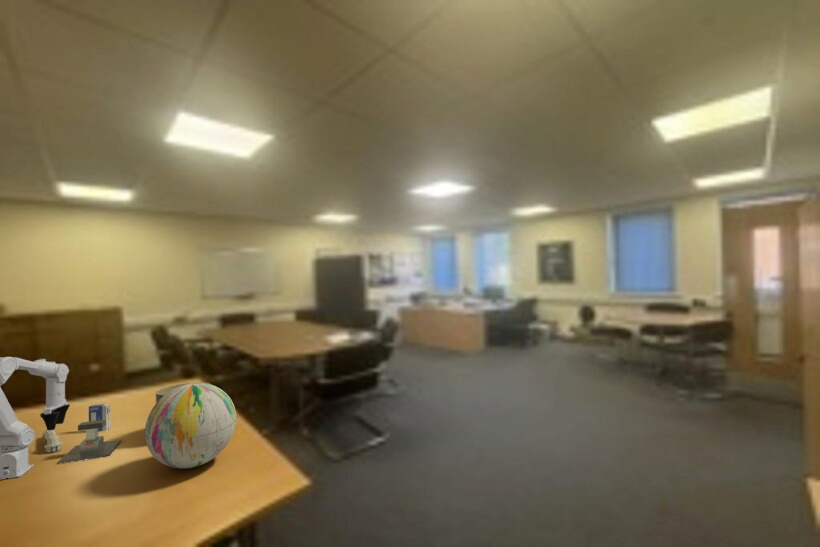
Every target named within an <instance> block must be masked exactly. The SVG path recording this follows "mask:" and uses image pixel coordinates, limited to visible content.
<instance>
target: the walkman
mask: <svg viewBox="0 0 820 547" xmlns="http://www.w3.org/2000/svg"><path fill="white" fill-rule="evenodd" d="M98 420H106V425H105V426H104V427H102V428H98V432H104V431H103V430H107V431H109V430H110V429H111V403H107V404H105V403H104V404H103V403H101V404H92V405H90V406H88V422H90V421H98ZM108 429H109V430H108Z"/></svg>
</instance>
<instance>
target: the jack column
mask: <svg viewBox="0 0 820 547" xmlns="http://www.w3.org/2000/svg"><path fill="white" fill-rule="evenodd" d="M105 425H106V420H98V421H90V422H89V421H85V422H80V423H79V424H78V425H77V431H78V432H79V431H85V439H86V442H89V441H96V440H97V439H98V437H99V431H98V428H102V427H104V426H105Z"/></svg>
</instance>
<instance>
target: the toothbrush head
mask: <svg viewBox="0 0 820 547" xmlns="http://www.w3.org/2000/svg"><path fill="white" fill-rule="evenodd" d="M42 439H43V440H45V439H46V444H45V445H44V448H45V453H54V452H57V451H59V450H61V449H62V444H63V442H62V441H60V436H59V435H57V431H56V430H55V429H54V430H47V429H46V430H44V431H43V432H42Z"/></svg>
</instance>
